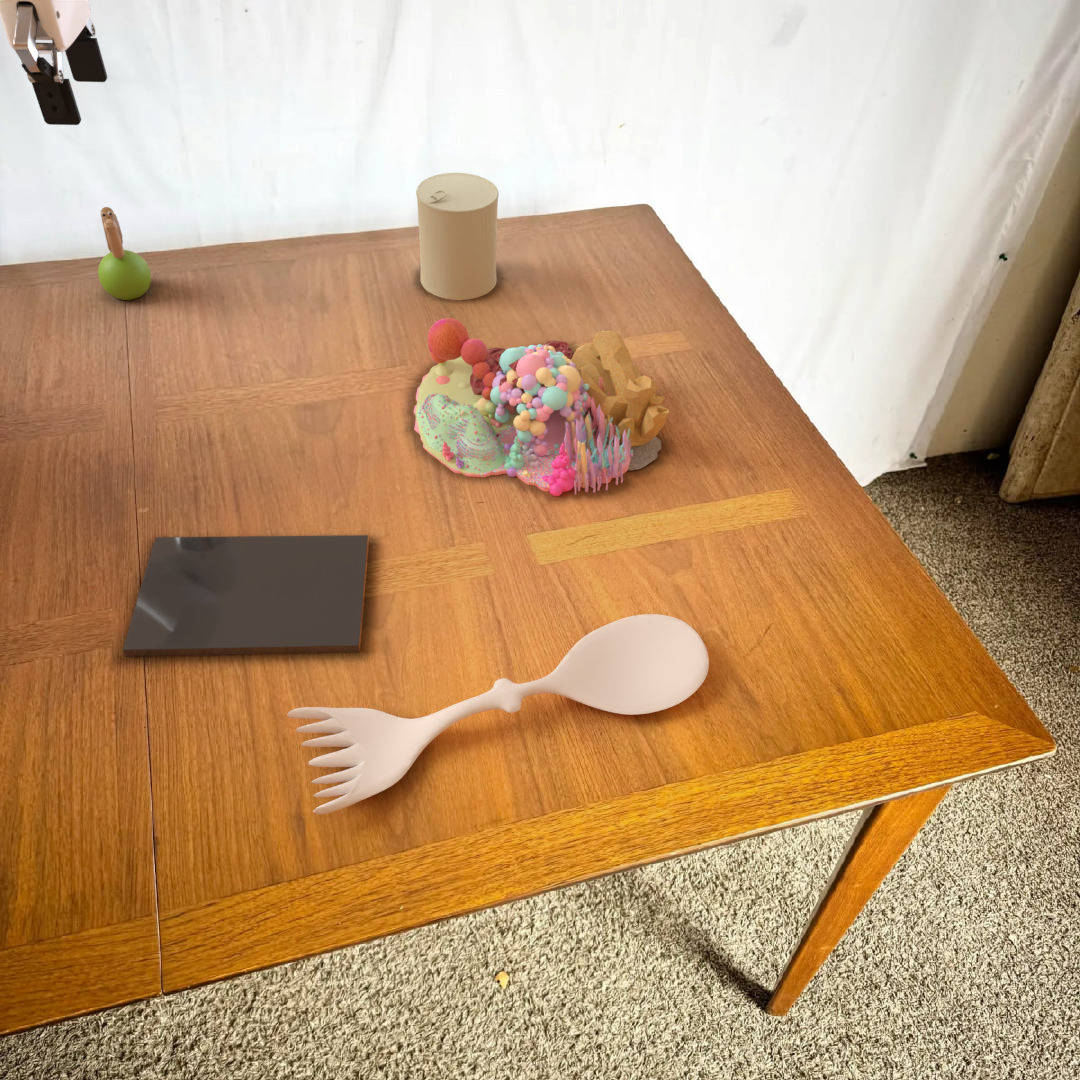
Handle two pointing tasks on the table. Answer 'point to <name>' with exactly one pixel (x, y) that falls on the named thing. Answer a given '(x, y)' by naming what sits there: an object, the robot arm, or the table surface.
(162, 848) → the table surface
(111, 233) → the apple with worm toy
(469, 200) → the can
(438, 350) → the candy landscape model
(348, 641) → the slate board
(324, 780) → the spoon
